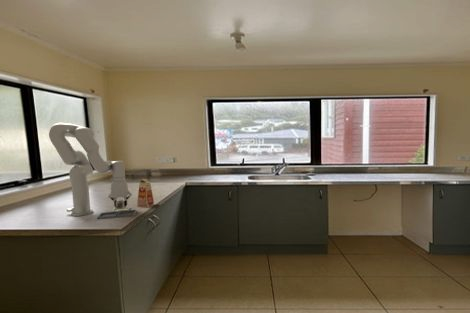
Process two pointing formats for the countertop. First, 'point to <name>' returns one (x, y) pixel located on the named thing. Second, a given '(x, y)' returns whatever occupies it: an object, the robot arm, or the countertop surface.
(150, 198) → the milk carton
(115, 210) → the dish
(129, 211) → the dish right
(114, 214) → the dish left
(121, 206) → the letter cube
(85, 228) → the countertop surface
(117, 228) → the countertop surface
